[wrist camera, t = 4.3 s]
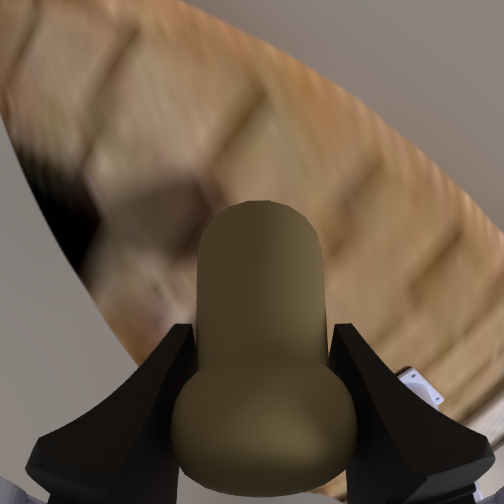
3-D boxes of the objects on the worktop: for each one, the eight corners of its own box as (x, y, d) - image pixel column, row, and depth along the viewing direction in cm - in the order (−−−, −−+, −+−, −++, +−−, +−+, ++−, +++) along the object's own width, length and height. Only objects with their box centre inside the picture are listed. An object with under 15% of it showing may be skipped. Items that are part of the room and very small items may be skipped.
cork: (260, 322, 18) (264, 517, 9) (173, 260, 16) (107, 473, 7) (345, 255, 16) (421, 465, 6) (257, 173, 14) (265, 408, 4)
